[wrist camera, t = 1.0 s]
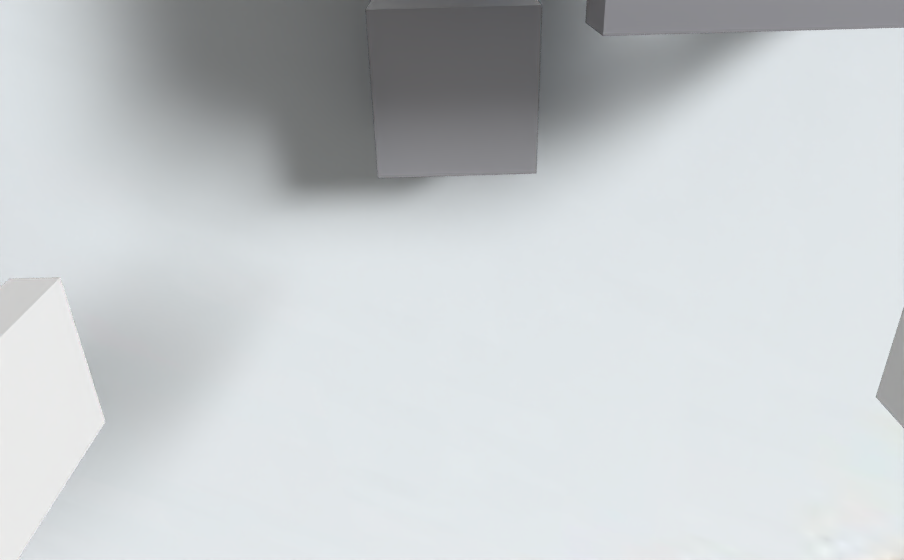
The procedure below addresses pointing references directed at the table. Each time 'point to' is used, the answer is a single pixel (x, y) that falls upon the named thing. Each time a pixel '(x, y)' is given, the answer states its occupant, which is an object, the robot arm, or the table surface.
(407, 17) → the gray cube
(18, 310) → the robot arm
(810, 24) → the plate
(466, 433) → the table surface
